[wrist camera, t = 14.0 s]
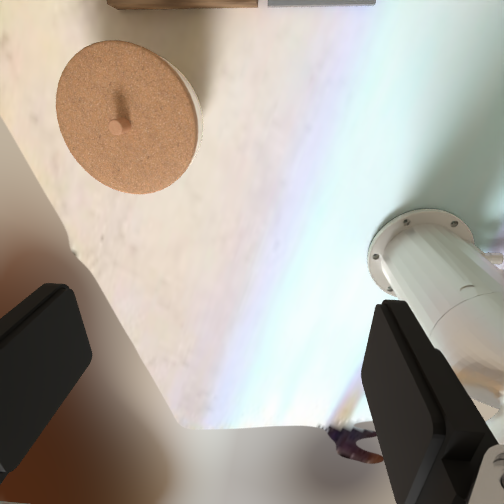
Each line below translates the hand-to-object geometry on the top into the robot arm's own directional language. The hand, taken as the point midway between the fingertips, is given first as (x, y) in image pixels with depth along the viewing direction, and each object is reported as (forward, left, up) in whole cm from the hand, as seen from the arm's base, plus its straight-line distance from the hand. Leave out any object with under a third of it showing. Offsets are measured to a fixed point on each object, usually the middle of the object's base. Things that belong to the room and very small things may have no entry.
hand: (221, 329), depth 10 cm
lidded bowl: (+12, -4, -31) cm, 33 cm away
